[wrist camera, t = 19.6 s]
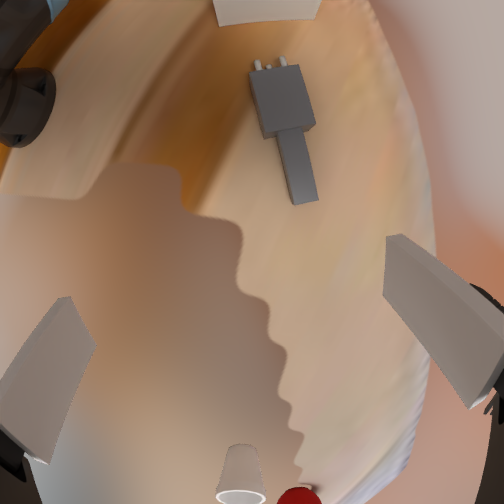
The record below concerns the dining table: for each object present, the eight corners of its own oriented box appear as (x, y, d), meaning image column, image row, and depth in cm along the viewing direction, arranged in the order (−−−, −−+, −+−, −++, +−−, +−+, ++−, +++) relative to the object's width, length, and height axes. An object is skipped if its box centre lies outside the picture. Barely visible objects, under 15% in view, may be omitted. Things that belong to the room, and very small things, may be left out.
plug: (323, 196, 36) (333, 198, 31) (279, 205, 36) (283, 208, 31) (289, 66, 31) (293, 51, 27) (246, 73, 32) (245, 58, 27)
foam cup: (272, 447, 48) (275, 495, 35) (251, 464, 50) (251, 509, 37) (232, 435, 47) (227, 486, 34) (214, 454, 49) (208, 499, 36)
